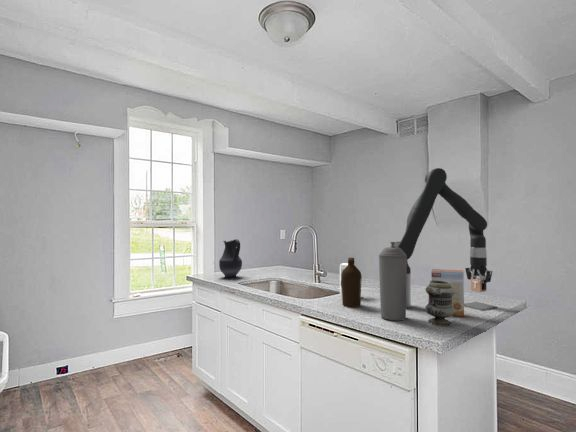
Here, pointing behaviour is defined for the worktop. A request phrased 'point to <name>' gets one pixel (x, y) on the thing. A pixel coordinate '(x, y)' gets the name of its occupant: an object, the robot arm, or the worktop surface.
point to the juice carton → (342, 267)
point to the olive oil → (351, 285)
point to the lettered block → (476, 285)
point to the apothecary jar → (440, 302)
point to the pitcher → (231, 259)
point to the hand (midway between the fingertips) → (478, 289)
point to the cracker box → (456, 283)
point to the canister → (393, 282)
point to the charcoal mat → (479, 306)
